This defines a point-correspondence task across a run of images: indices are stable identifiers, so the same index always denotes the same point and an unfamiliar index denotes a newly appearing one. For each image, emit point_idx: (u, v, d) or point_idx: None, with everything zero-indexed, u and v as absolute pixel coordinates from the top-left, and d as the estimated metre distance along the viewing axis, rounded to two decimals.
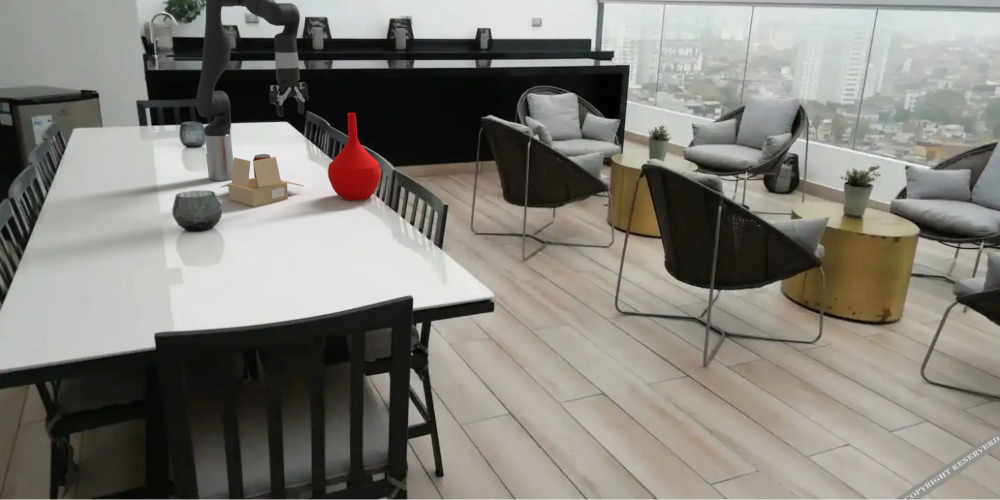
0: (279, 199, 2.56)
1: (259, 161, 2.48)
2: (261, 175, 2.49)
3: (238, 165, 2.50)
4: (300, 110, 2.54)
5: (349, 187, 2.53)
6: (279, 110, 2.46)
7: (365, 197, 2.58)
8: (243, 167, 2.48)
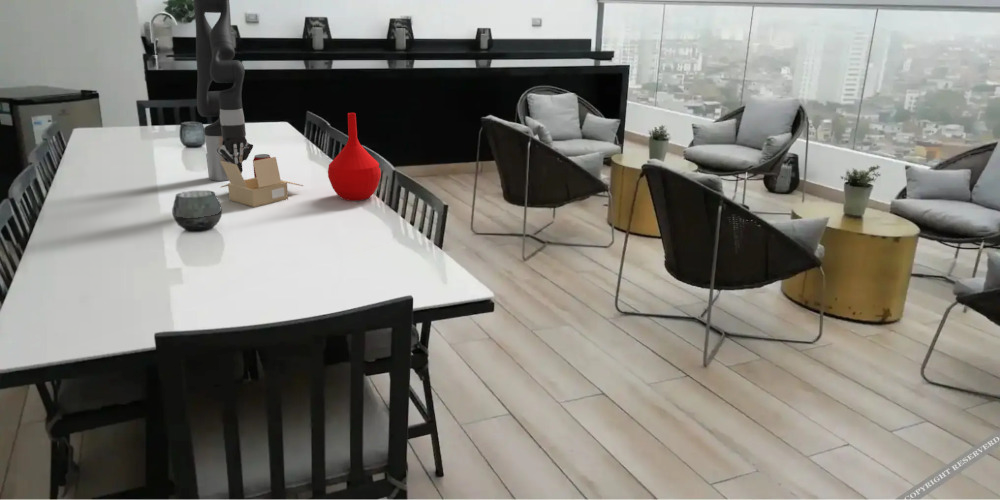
0: (279, 199, 2.56)
1: (259, 161, 2.48)
2: (261, 175, 2.49)
3: (228, 168, 2.47)
4: None
5: (349, 187, 2.53)
6: None
7: (365, 197, 2.58)
8: (233, 170, 2.45)
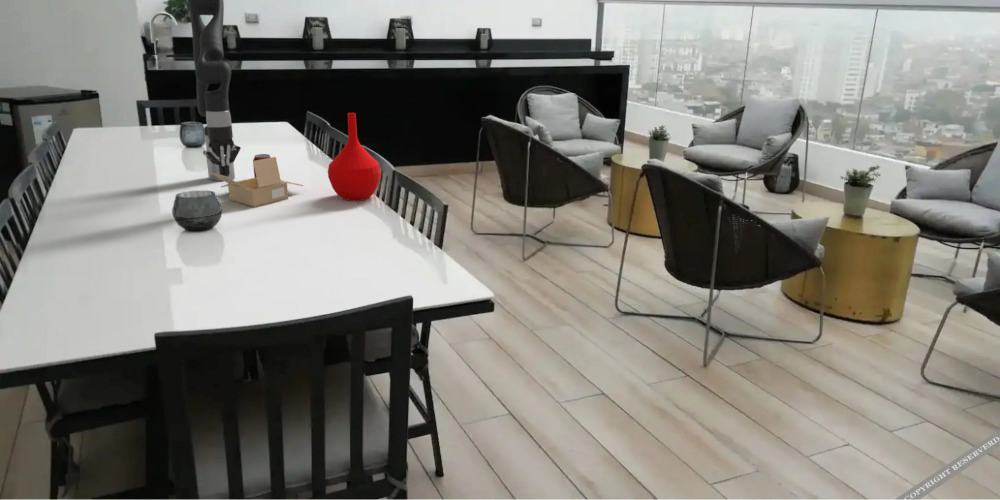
0: (279, 199, 2.56)
1: (259, 161, 2.48)
2: (261, 175, 2.49)
3: (221, 177, 2.45)
4: None
5: (349, 187, 2.53)
6: (222, 171, 2.43)
7: (365, 197, 2.58)
8: (226, 179, 2.44)
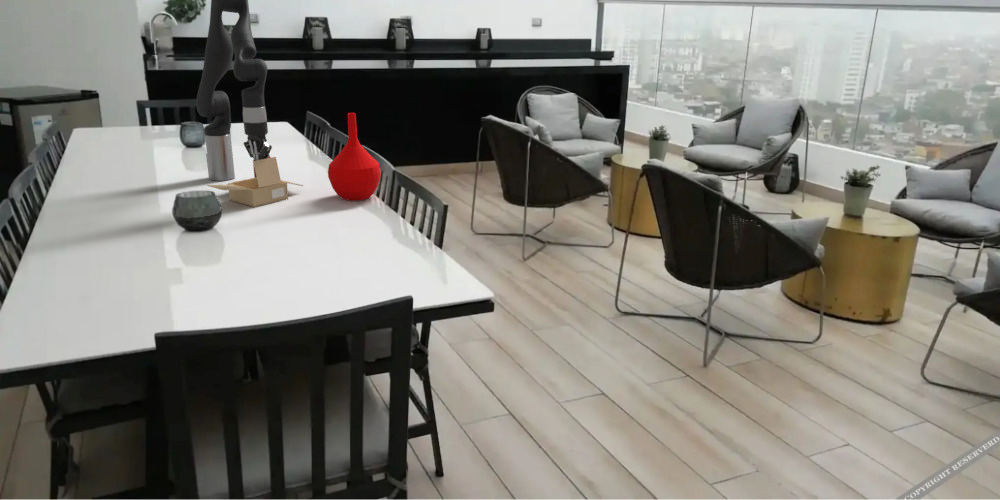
0: (279, 199, 2.56)
1: (259, 161, 2.48)
2: (261, 175, 2.49)
3: (218, 187, 2.45)
4: None
5: (349, 187, 2.53)
6: None
7: (365, 197, 2.58)
8: (224, 188, 2.44)
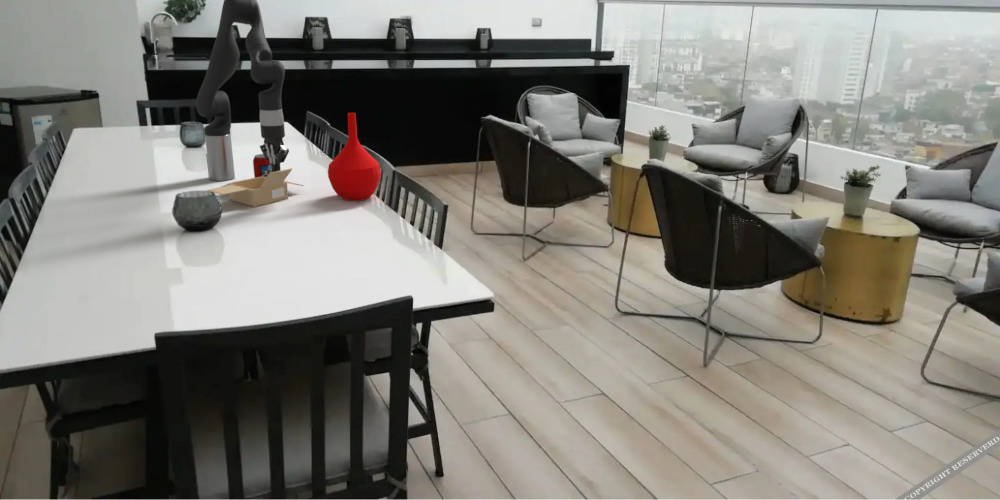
0: (279, 199, 2.56)
1: (275, 172, 2.44)
2: (268, 181, 2.47)
3: None
4: None
5: (349, 187, 2.53)
6: (272, 168, 2.47)
7: (365, 197, 2.58)
8: None
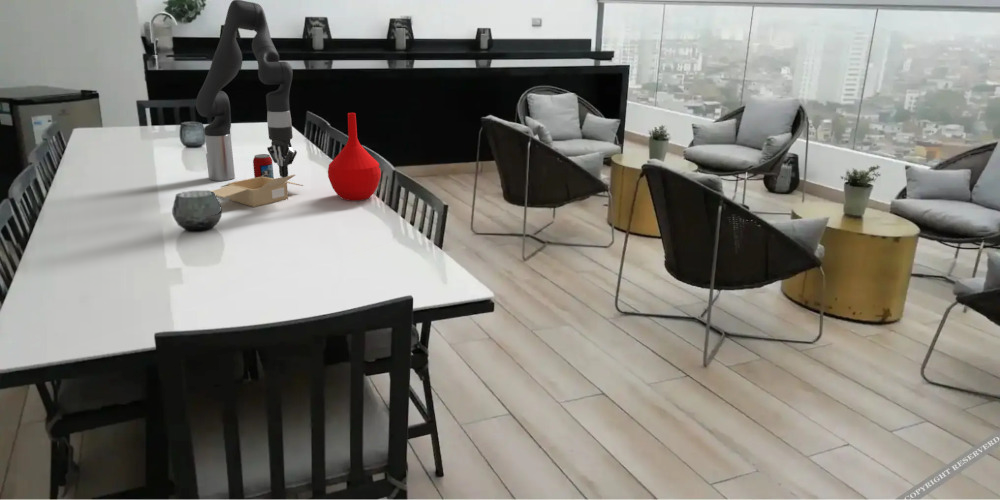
0: (279, 199, 2.56)
1: (278, 179, 2.44)
2: (269, 184, 2.47)
3: None
4: None
5: (349, 187, 2.53)
6: None
7: (365, 197, 2.58)
8: None
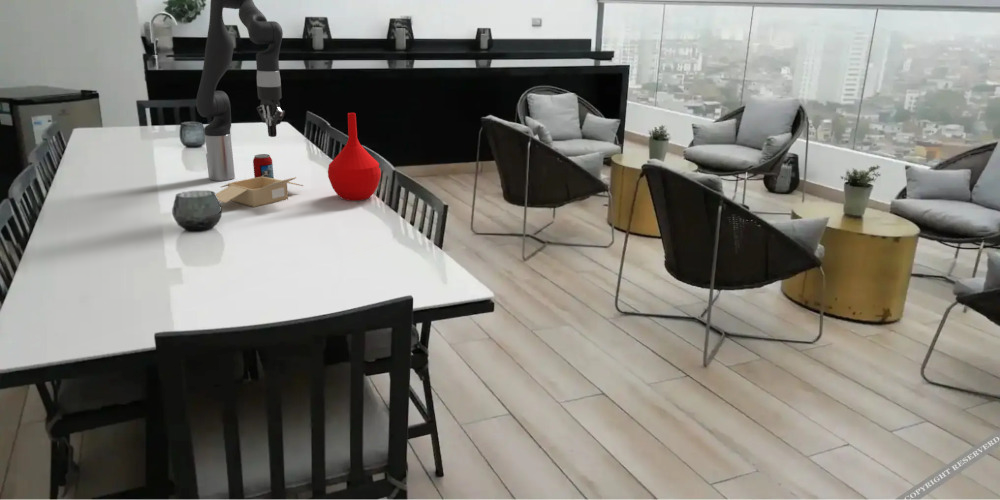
0: (279, 199, 2.56)
1: (279, 181, 2.44)
2: (270, 185, 2.47)
3: None
4: None
5: (349, 187, 2.53)
6: None
7: (365, 197, 2.58)
8: None
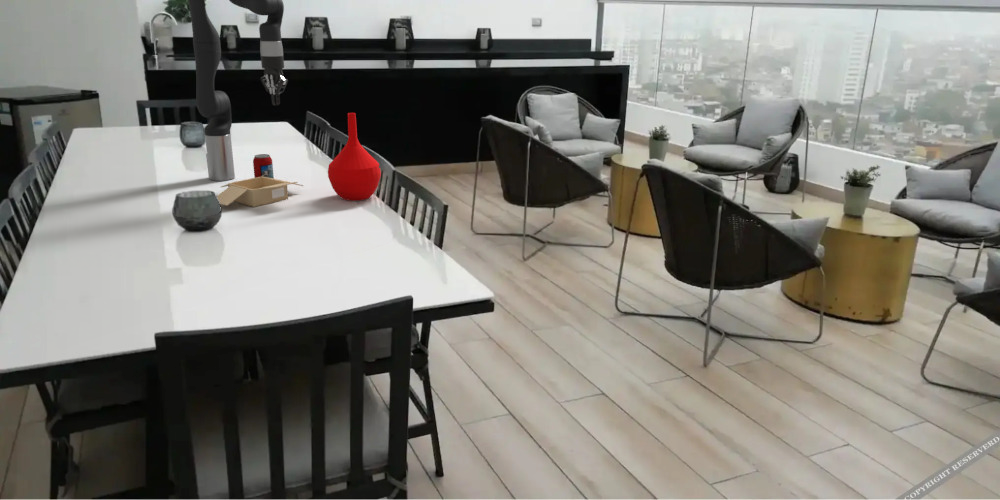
0: (279, 199, 2.56)
1: None
2: (270, 187, 2.47)
3: None
4: None
5: (349, 187, 2.53)
6: (272, 98, 2.60)
7: (365, 197, 2.58)
8: None
